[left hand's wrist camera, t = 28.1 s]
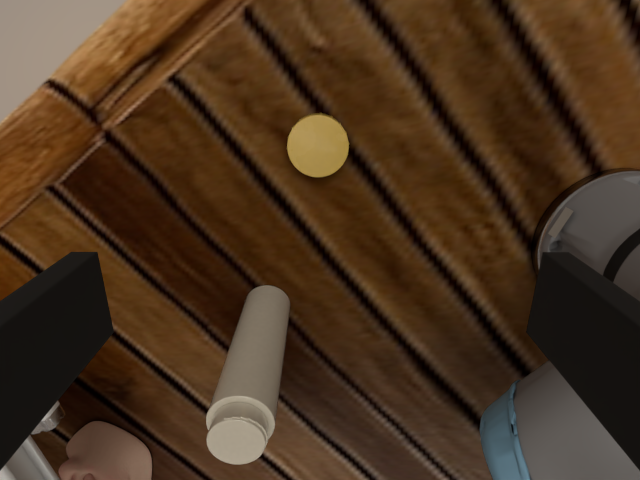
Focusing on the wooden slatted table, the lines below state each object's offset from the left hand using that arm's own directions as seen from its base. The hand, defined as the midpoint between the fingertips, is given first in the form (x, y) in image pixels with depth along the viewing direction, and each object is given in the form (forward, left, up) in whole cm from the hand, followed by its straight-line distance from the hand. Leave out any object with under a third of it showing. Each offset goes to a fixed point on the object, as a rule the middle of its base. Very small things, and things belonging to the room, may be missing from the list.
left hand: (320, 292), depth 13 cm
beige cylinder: (-9, +16, -29) cm, 35 cm away
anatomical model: (-12, +47, -29) cm, 57 cm away
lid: (0, 0, -28) cm, 28 cm away
